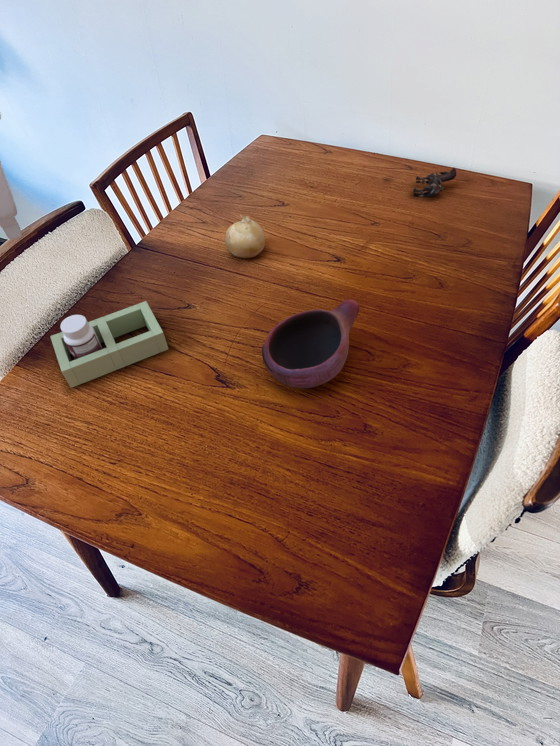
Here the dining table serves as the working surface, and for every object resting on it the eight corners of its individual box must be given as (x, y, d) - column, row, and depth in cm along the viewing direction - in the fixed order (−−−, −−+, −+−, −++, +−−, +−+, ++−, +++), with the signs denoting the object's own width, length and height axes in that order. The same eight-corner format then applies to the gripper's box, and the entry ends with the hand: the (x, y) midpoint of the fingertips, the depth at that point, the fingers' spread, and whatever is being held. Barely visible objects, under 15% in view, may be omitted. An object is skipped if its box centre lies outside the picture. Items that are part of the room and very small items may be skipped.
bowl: (333, 410, 76) (334, 374, 70) (253, 389, 80) (247, 354, 74) (361, 336, 86) (364, 299, 80) (288, 320, 89) (286, 284, 83)
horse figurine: (383, 207, 115) (454, 202, 110) (380, 192, 112) (453, 186, 107) (389, 183, 120) (457, 176, 114) (387, 167, 117) (457, 160, 111)
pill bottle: (76, 353, 87) (57, 317, 81) (104, 346, 88) (87, 309, 82) (77, 373, 84) (57, 337, 78) (107, 366, 85) (89, 329, 79)
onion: (273, 256, 102) (270, 224, 96) (236, 268, 100) (231, 237, 94) (257, 235, 107) (253, 204, 101) (221, 247, 105) (215, 216, 99)
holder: (71, 388, 82) (61, 371, 79) (59, 352, 88) (50, 336, 85) (168, 349, 87) (163, 332, 84) (151, 317, 92) (146, 300, 89)
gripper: (-79, 87, 64) (-23, 190, 74) (-71, 152, 52) (-5, 265, 62) (-26, 75, 66) (21, 178, 76) (-6, 135, 53) (48, 248, 64)
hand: (10, 218), depth 69 cm, fingers open, 8 cm apart
